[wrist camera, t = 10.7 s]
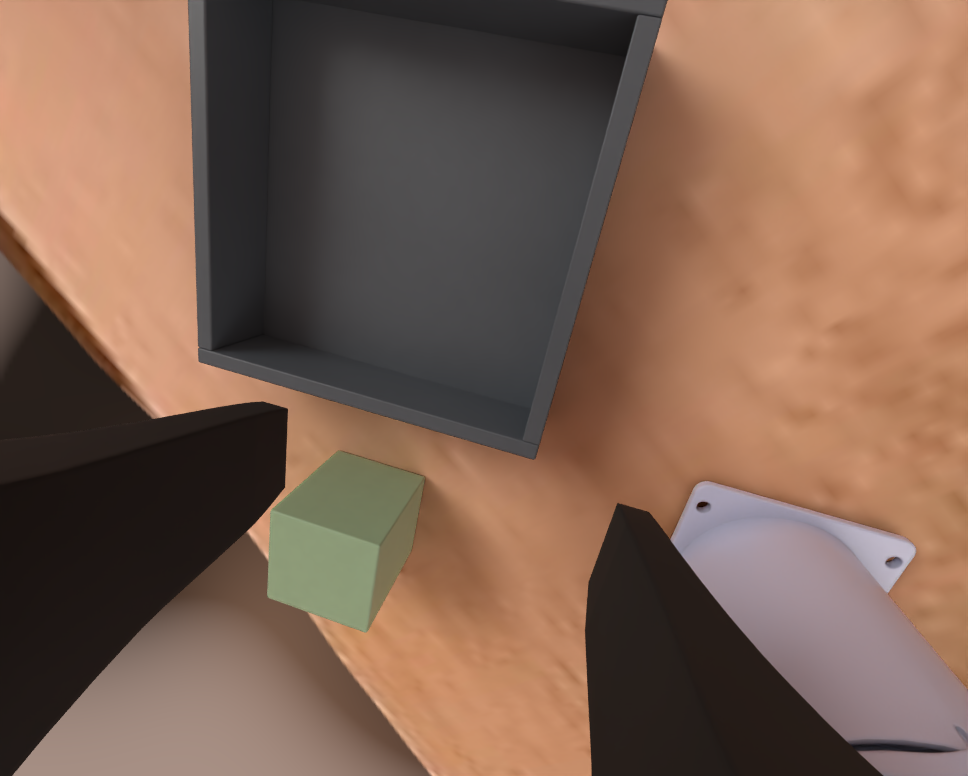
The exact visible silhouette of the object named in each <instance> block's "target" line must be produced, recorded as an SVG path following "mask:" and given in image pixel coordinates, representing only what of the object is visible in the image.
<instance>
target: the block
mask: <svg viewBox="0 0 968 776" xmlns="http://www.w3.org/2000/svg"><path fill="white" fill-rule="evenodd" d="M424 482H425V477H424V476H421V475H418V474H414V473H411V472H408V471H405V470H401V469H398V468H395V467H392V466H388V465H385V464H382V463H379V462H375V461H372V460H369V459H366V458H362V457H359V456H356V455H352V454H349V453H346V452H343V451H337V452H336V453H335V454H334V455H333V456H331V457H330V458H329V459H328V460H327V461H326V462H325V463H324V464H322V465H321V466H320V467H319V468H318V469H317V470H316V471H315V472H313V473H312V474H311V475H310V476H309V477H308V478H307V479H306V480H304V481H303V482H302V483H301V484H300V485H299V486H298V487H296V488H295V489H294V490H293V491H292V492H291V493H290V494H289V495H287V496H286V497H285V498H284V499H283V500H282V501H281V502H280V503H278V504H277V505H276V506H275V507H274V508H273V509H272V510H271V513H270V539H269V565H268V591H267V592H268V593H267V597H268V598H271V599H273V600H276V601H279V602H281V603H284V604H287V605H290V606H293V607H295V608H298V609H301V610H304V611H307V612H309V613H312V614H315V615H318V616H320V617H323V618H326V619H329V620H332V621H334V622H337V623H340V624H343V625H346V626H348V627H351V628H354V629H357V630H360V631H362V632H367V631H368V630H369V628H370V626H371V624H372V622H373V621H374V619H375V617H376V615H377V613H378V611H379V610H380V608H381V606H382V604H383V602H384V600H385V598H386V597H387V595H388V593H389V591H390V589H391V587H392V586H393V584H394V582H395V580H396V578H397V576H398V575H399V573H400V571H401V569H402V567H403V565H404V564H405V562H406V560H407V558H408V556H409V554H410V552H411V551H412V546H413V541H414V535H415V530H416V525H417V519H418V514H419V509H420V503H421V498H422V492H423V487H424Z"/></svg>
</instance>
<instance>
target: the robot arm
mask: <svg viewBox="0 0 968 776" xmlns="http://www.w3.org/2000/svg"><path fill="white" fill-rule="evenodd" d="M287 419H288V409H287V408H284V407H280V406H277V405H273V404H270V403H266V402H251V403H242V404H235V405H229V406H223V407H217V408H211V409H206V410H200V411H195V412H189V413H184V414H178V415H173V416H168V417H162V418H157V419H151V420H145V421H140V422H133V423H128V424H121V425H115V426H108V427H102V428H96V429H89V430H83V431H77V432H69V433H62V434H53V435H45V436H37V437H27V438H18V439H8V440H0V776H12V775H13V774H14V773H15V771H16V770H17V769H18V768H19V767H20V766H21V764H22V763H23V762H24V761H25V760H26V758H27V757H28V756H29V755H30V754H31V752H32V751H33V750H34V748H35V747H36V746H37V745H38V744H39V743H40V741H41V740H42V739H43V738H44V737H45V736H46V734H47V733H48V732H49V731H50V730H51V729H52V728H53V726H54V725H55V724H56V723H57V722H58V721H59V720H60V718H61V717H62V716H63V715H64V714H65V712H67V710H68V709H69V708H70V707H71V706H72V705H73V703H74V702H75V701H76V700H77V699H78V698H79V697H80V696H81V694H82V693H83V692H84V691H85V690H86V689H87V688H88V686H89V685H90V684H91V683H92V682H93V681H94V680H95V679H96V677H97V676H98V675H99V674H100V673H101V672H102V671H103V670H104V669H105V668H106V667H107V665H108V664H109V663H110V662H111V661H112V660H113V659H114V658H115V657H116V655H118V654H119V653H120V651H121V650H122V649H123V648H124V647H125V646H126V645H127V644H128V643H129V642H130V641H131V640H132V638H133V637H134V636H135V635H136V634H137V633H138V632H139V631H140V630H141V628H143V627H144V626H145V625H146V624H147V623H148V622H149V621H150V620H151V619H152V618H153V617H154V616H155V615H156V614H157V613H158V612H159V611H160V610H161V609H162V608H163V607H164V606H165V605H166V604H167V603H169V602H170V601H171V600H172V599H173V598H174V597H175V596H176V595H177V594H178V593H180V592H181V591H182V590H183V589H184V588H185V587H186V586H187V585H188V584H189V583H191V582H192V581H193V580H194V579H195V578H196V577H197V576H198V575H199V574H201V573H202V572H203V571H204V570H205V569H206V568H207V567H208V566H209V565H210V564H212V563H213V562H214V561H215V560H216V559H217V558H218V557H219V556H220V555H222V554H223V552H225V551H226V550H227V549H228V548H229V547H230V546H231V545H232V544H233V543H235V542H236V541H237V540H238V539H239V538H240V537H241V536H242V535H243V534H244V533H245V532H246V531H247V530H248V529H250V528H251V527H252V526H253V525H254V524H255V523H256V522H257V520H258V519H259V518H260V517H261V516H262V515H263V514H264V512H265V511H266V510H267V509H268V508H269V507H270V505H271V504H272V503H273V502H274V500H275V499H276V498H277V497H278V495H279V494H280V493H281V492H282V490H283V489H284V488H285V473H286V446H287ZM702 501H703V502H708V504H707V505H706V506H705V507H697V504H698V503H700V502H702ZM915 554H916V547H915V546H914V545H913V543H912V542H911V541H910V540H908V539H907V538H906V537H903V536H901V535H897V534H894V533H890V532H887V531H883V530H880V529H876V528H873V527H869V526H866V525H862V524H859V523H855V522H852V521H848V520H845V519H841V518H838V517H834V516H831V515H827V514H823V513H820V512H816V511H813V510H809V509H806V508H802V507H799V506H795V505H792V504H788V503H785V502H781V501H778V500H774V499H771V498H767V497H764V496H760V495H757V494H753V493H750V492H746V491H743V490H739V489H735V488H732V487H728V486H725V485H721V484H718V483H714V482H710V481H703V482H700V483H698V484H697V485H696V486H695V487H694V488H693V491H692V493H691V495H690V497H689V499H688V502H687V504H686V506H685V508H684V510H683V513H682V515H681V517H680V519H679V522H678V524H677V526H676V528H675V530H674V533H673V535H672V537H671V539H669V537H668V536H667V535H666V533H665V532H664V531H663V529H662V528H661V527H660V525H659V524H658V523H657V521H656V520H655V519H654V518H653V516H652V515H651V514H650V513H649V512H647V511H643V510H640V509H636V508H633V507H629V506H626V505H622V504H619V503H617V506H616V509H615V512H614V514H613V517H612V520H611V522H610V525H609V528H608V531H607V533H606V536H605V539H604V542H603V544H602V547H601V550H600V553H599V555H598V558H597V561H596V564H595V566H594V569H593V572H592V574H591V577H590V580H589V585H588V597H587V610H586V626H585V639H586V662H587V683H588V703H589V722H590V742H591V762H592V776H968V690H967V688H966V687H965V686H964V685H963V684H962V682H961V681H960V680H959V679H958V678H957V676H956V675H955V674H954V673H953V672H952V670H951V669H950V668H949V667H948V666H947V664H946V663H945V662H944V661H943V660H942V658H941V657H940V656H939V655H938V654H937V652H936V651H935V650H934V649H933V648H932V646H931V645H930V644H929V643H928V642H927V640H926V639H925V638H924V637H923V636H922V635H921V633H920V632H919V631H918V630H917V629H916V627H915V626H914V625H913V624H912V623H911V621H910V620H909V619H908V618H907V617H906V615H905V614H904V613H903V612H902V611H901V609H900V608H899V607H898V606H897V605H896V603H895V602H894V601H893V600H892V599H891V597H890V596H889V595H888V592H889V591H890V589H891V588H892V587H893V585H894V584H895V583H896V581H897V580H898V578H899V577H900V576H901V574H902V573H903V571H904V570H905V569H906V567H907V566H908V564H909V563H910V562H911V560H912V559H913V557H914V556H915ZM891 557H895V558H894V559H893V560H891V561H886V560H887V559H889V558H891Z"/></svg>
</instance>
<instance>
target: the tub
mask: <svg viewBox="0 0 968 776" xmlns="http://www.w3.org/2000/svg"><path fill="white" fill-rule="evenodd" d="M667 1H668V0H188V14H189V49H190V83H191V117H192V151H193V185H194V219H195V253H196V287H197V321H198V346H199V347H200V348H198V359H199V362H201V363H204V364H208V365H211V366H215V367H218V368H221V369H225V370H228V371H232V372H235V373H239V374H242V375H245V376H249V377H252V378H256V379H259V380H263V381H266V382H269V383H273V384H276V385H280V386H283V387H286V388H290V389H293V390H297V391H300V392H304V393H307V394H310V395H314V396H317V397H321V398H324V399H328V400H331V401H334V402H338V403H341V404H345V405H348V406H351V407H355V408H358V409H362V410H365V411H369V412H372V413H375V414H379V415H382V416H386V417H389V418H393V419H396V420H399V421H403V422H406V423H410V424H413V425H416V426H420V427H423V428H427V429H430V430H434V431H437V432H440V433H444V434H447V435H451V436H454V437H458V438H461V439H464V440H468V441H471V442H475V443H478V444H481V445H485V446H488V447H492V448H495V449H499V450H502V451H505V452H509V453H512V454H516V455H519V456H523V457H526V458H529V459H533V460H534V459H535V458H536V455H537V452H538V448H539V444H540V441H541V438H542V434H543V431H544V427H545V424H546V420H547V417H548V413H549V410H550V406H551V403H552V400H553V396H554V393H555V389H556V386H557V382H558V379H559V375H560V372H561V368H562V365H563V361H564V358H565V354H566V351H567V348H568V344H569V341H570V337H571V334H572V330H573V327H574V323H575V320H576V316H577V313H578V309H579V306H580V302H581V299H582V295H583V292H584V289H585V285H586V282H587V278H588V275H589V271H590V268H591V264H592V261H593V257H594V254H595V250H596V247H597V243H598V240H599V237H600V233H601V230H602V226H603V223H604V219H605V216H606V212H607V209H608V205H609V202H610V198H611V195H612V191H613V188H614V184H615V181H616V178H617V174H618V171H619V167H620V164H621V160H622V157H623V153H624V150H625V146H626V143H627V139H628V136H629V132H630V129H631V126H632V122H633V119H634V115H635V112H636V108H637V105H638V101H639V98H640V94H641V91H642V87H643V84H644V80H645V77H646V73H647V70H648V67H649V63H650V60H651V56H652V53H653V49H654V46H655V42H656V39H657V35H658V32H659V28H660V25H661V21H662V17H663V14H664V11H665V7H666V4H667Z"/></svg>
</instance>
